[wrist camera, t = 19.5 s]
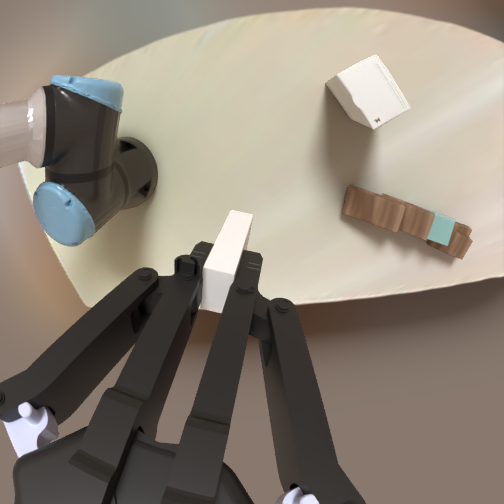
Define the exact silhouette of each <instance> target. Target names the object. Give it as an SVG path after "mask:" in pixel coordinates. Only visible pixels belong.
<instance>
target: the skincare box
mask: <svg viewBox="0 0 504 504" xmlns="http://www.w3.org/2000/svg"><path fill="white" fill-rule="evenodd" d="M326 85H327V86H328V88H329V89H330V90H331V92H332V93H333V95H334V96H335V97H336V99H337V100H338V102H339V103H340V105H341V106H342V107H343V109H344V110H345V112H346V113H347V115H348V116H349V117H350V119H351V120H354V121H356V122H358V123H361V124H363V125H365V126H367V127H369V128H371V129H373V130H376V129H377V128H379V127H381V126H382V125H384V124H386V123H387V122H389V121H390V120H392V119H394V118H395V117H397V116H399V115H400V114H402V113H404V112H405V111H407V110H409V109H411V108H410V106H409V104H408V102H407V101H406V99H405V97H404V95H403V94H402V92H401V90H400V89H399V87H398V85H397V84H396V82H395V80H394V79H393V77H392V76H391V74H390V73H389V71H388V70H387V68H386V67H385V65H384V64H383V62H382V61H381V60H380V58H379V57H378V55H377V54H376V55H373V56H371V57H369V58H367V59H365V60H362V61H361V62H359V63H357V64H355V65H353V66H351V67H349V68H347V69H346V70H344V71H342V72H341V73H339V74H337V75H336V76H334V77H333V78H331V79H330V80H328V81H327V82H326Z"/></svg>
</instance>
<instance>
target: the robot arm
mask: <svg viewBox="0 0 504 504" xmlns="http://www.w3.org/2000/svg"><path fill="white" fill-rule="evenodd" d="M50 84H51V85H49V86H41V87H38V88H37V89H36V90H35V91H34V92H33V93H32V94H31V95H30V97H29V98H27V99H25V100H19V101H14V102H9V103H5V104H0V168H1V167H5V166H8V165H11V164H15V163H19V162H22V161H28V162H29V163H31V164H32V165H33V166H34V167H36V168H42V167H45V182H43V183H41V184H40V185H39V187H38V188H37V189H36V191H35V193H34V196H33V206H34V211H35V214H36V217H37V219H38V221H39V223H40V224H41V226H42V228H43V229H44V230H45V231H46V233H47V234H48V235H49V236H50V237H51V238H53V239H54V240H55V241H57V242H58V243H60V244H62V245H65V246H77V245H80V244H81V243H82V242H84V241H85V240H86V239H87V238H90V237H92V236H93V235H94V233H95V232H96V231H97V230H99V229H100V228H101V227H102V226H103V225H104V224H105V223H106V222H107V221H108V220H110V219H111V218H112V217H113V216H114V215H115V214H116V213H117V212H118V211H120V210H123V209H128V208H132V207H135V206H138V205H140V204H141V203H143V202H144V201H145V200H146V199H147V198H148V197H149V196H150V195H151V194H152V193H153V191H154V189H155V186H156V183H157V166H156V162H155V159H154V157H153V155H152V153H151V152H150V150H149V149H148V148H147V147H146V146H145V145H144V144H143V143H142V142H140V141H139V140H137V139H134V138H131V137H120V138H117V133H118V126H119V120H120V114H121V113H122V109H121V106H122V99H123V87H122V86H121V85H120V84H119V83H118V82H114V81H109V80H102V79H95V78H86V77H77V76H64V75H55V76H53V77H52V80H51V81H50ZM252 219H253V214H248V213H243V212H238V211H234V210H231V212H230V213H229V215H228V217H227V219H226V221H225V223H224V225H223V228H222V230H221V232H220V234H219V236H218V238H217V240H216V242H215V244H212V243H207V242H203V241H201V242H200V243H198V244H197V245H195V247H194V249H193V251H192V252H191V254H190V255H181V256H179V257H177V258H176V259H175V273H174V275H171V276H158V273H157V271H155V270H154V269H152V268H140V269H138V270H136V271H135V272H134V273H132V274H131V275H130V276H129V277H127V278H126V279H125V280H124V281H123V282H121V283H120V284H119V285H118V286H117V287H116V288H114V289H113V290H112V291H111V292H110V293H109V294H107V295H106V296H105V297H104V298H103V299H102V300H100V301H99V302H98V303H97V304H96V305H95V306H94V307H92V308H91V309H90V310H89V311H88V312H87V313H86V314H85V315H83V316H82V317H81V318H80V319H79V320H78V321H77V322H76V323H75V324H74V325H72V326H71V327H70V328H69V329H68V330H67V331H66V332H65V333H64V334H63V335H62V336H60V337H59V339H57V340H56V341H55V342H54V343H53V344H52V345H51V346H50V347H49V348H48V349H47V350H46V351H45V352H44V353H43V354H42V355H41V356H40V357H39V358H38V359H37V360H36V361H35V362H34V363H33V364H32V365H31V366H30V367H29V368H28V369H27V370H25V371H23V372H21V373H19V374H17V375H15V376H13V377H11V378H9V379H7V380H5V381H3V382H1V383H0V419H1V420H2V421H3V422H4V424H5V426H6V429H7V432H8V434H9V437H10V439H11V442H12V444H13V446H14V448H15V450H16V453H17V455H18V457H19V459H18V460H17V461H16V463H15V465H14V468H13V482H14V487H15V503H14V504H254V503H253V501H252V499H251V498H250V496H249V495H248V493H247V492H246V490H245V489H244V487H243V485H242V484H241V482H240V480H239V479H238V477H237V476H236V474H235V473H234V472H233V470H232V469H231V468H230V467H229V466H228V465H226V464H225V463H224V462H223V457H224V453H225V448H226V444H227V439H228V434H229V429H230V422H231V417H232V413H233V408H234V403H235V398H236V393H237V389H238V384H239V379H240V374H241V369H242V365H243V360H244V355H245V350H246V345H247V340H248V335H252V336H253V337H255V338H257V339H259V348H260V355H261V362H262V368H263V375H264V381H265V389H266V395H267V402H268V408H269V416H270V422H271V428H272V435H273V442H274V448H275V455H276V461H277V468H278V473H279V478H280V482H281V484H282V487H283V490H284V492H285V493H284V494H282V495H281V496H280V497H279V498H278V499H277V501H276V503H275V504H366V503H365V501H364V499H363V498H362V496H361V495H360V494H359V492H358V491H357V490H356V488H355V487H354V486H353V484H352V483H351V481H350V480H349V479H348V477H347V476H346V474H345V473H344V471H343V470H342V469H341V467H340V466H339V464H338V461H337V457H336V453H335V449H334V445H333V441H332V437H331V433H330V429H329V425H328V421H327V417H326V413H325V409H324V406H323V402H322V398H321V395H320V391H319V387H318V383H317V380H316V376H315V372H314V369H313V365H312V361H311V358H310V354H309V351H308V348H307V344H306V340H305V337H304V333H303V330H302V326H301V323H300V319H299V316H298V312H297V309H296V307H295V305H294V304H293V303H292V302H291V301H290V300H288V299H285V298H275V299H273V300H271V301H270V300H268V299H266V298H265V297H263V296H262V295H261V294H260V293H259V291H258V282H259V277H260V272H261V266H262V261H263V258H262V256H261V254H260V253H256V252H251V251H247V246H248V240H249V235H250V230H251V224H252ZM200 303H201V307H200V308H202V309H206V310H210V311H215V312H219V313H222V314H221V317H220V320H219V323H218V326H217V329H216V333H215V336H214V339H213V342H212V346H211V349H210V352H209V355H208V359H207V362H206V365H205V368H204V371H203V375H202V378H201V381H200V384H199V388H198V391H197V394H196V397H195V401H194V404H193V407H192V410H191V413H190V415H189V416H188V418H187V420H186V423H185V426H184V430H183V433H182V436H181V440H180V443H179V444H169V443H159V442H157V441H155V438H156V433H157V424H158V421H159V418H160V415H161V413H162V410H163V407H164V404H165V401H166V399H167V396H168V393H169V390H170V388H171V385H172V382H173V379H174V377H175V374H176V371H177V368H178V365H179V363H180V361H181V358H182V355H183V353H184V350H185V347H186V344H187V342H188V339H189V337H190V334H191V331H192V329H193V326H194V324H195V321H196V319H197V316H198V308H199V305H200ZM135 343H136V344H135ZM134 344H135V346H134V348H133V350H132V352H131V354H130V356H129V358H128V360H127V362H126V364H125V366H124V368H123V370H122V372H121V374H120V376H119V378H118V380H117V382H116V384H115V386H114V387H112V388H108V389H107V390H106V391H105V392H104V394H103V395H102V397H101V399H100V402H99V404H98V406H97V408H96V410H95V412H94V414H93V416H92V419H91V421H90V423H89V425H88V426H87V427H84V428H82V429H80V430H78V431H76V432H74V433H72V434H69V435H67V436H65V437H63V438H61V439H59V440H57V441H54V442H52V443H50V442H51V441H52V440H54V439H57V438H58V435H59V432H58V425H59V424H61V423H63V422H64V421H65V420H66V419H68V418H69V417H70V416H71V415H72V414H73V413H74V412H75V411H76V410H77V409H78V407H79V406H80V405H81V404H82V403H83V402H84V400H85V399H86V398H87V397H88V396H89V395H90V393H91V392H92V391H93V390H94V389H95V388H96V387H97V385H98V384H99V383H100V382H101V381H102V380H103V379H104V377H105V376H106V375H107V374H108V373H109V372H110V371H111V370H112V368H113V367H114V366H115V365H116V364H117V363H118V362H119V361H120V360H121V358H122V357H123V356H124V355H125V354H126V353H127V352H128V350H130V348H131V347H132V346H133V345H134Z"/></svg>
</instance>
